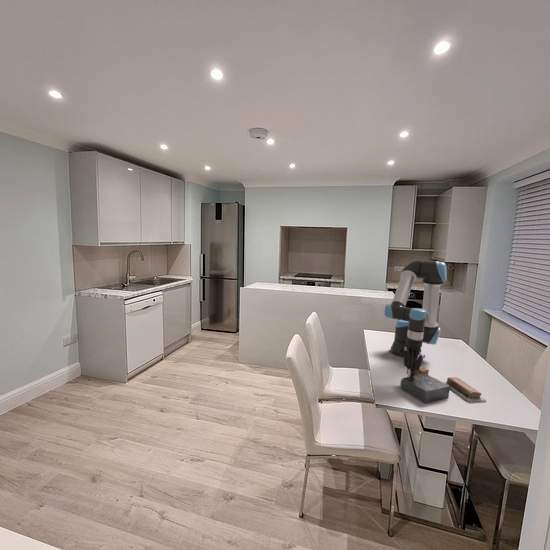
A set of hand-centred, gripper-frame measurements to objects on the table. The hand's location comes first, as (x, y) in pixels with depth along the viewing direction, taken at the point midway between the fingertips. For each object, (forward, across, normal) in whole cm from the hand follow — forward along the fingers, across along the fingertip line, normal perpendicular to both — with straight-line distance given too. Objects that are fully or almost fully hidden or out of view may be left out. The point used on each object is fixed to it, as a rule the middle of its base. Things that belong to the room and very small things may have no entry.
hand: (409, 381), depth 157 cm
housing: (+2, +9, 0) cm, 10 cm away
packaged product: (+3, +15, +21) cm, 26 cm away
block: (+2, -5, +14) cm, 15 cm away
